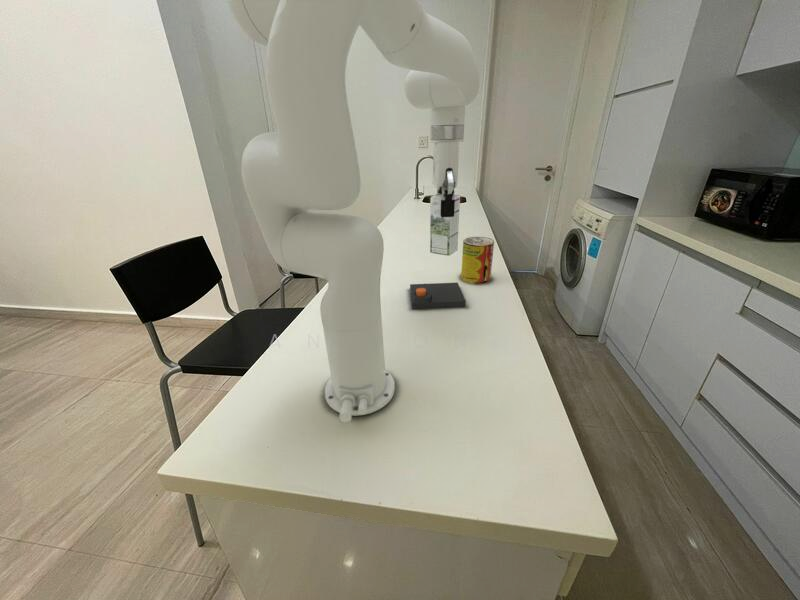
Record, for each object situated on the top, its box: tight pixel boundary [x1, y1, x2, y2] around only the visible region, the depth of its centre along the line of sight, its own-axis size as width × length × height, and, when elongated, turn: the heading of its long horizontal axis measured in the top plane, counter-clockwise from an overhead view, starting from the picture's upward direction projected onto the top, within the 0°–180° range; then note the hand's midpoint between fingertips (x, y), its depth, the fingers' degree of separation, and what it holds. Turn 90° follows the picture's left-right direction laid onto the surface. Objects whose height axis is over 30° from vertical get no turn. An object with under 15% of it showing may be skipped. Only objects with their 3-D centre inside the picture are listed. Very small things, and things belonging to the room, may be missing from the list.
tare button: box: [416, 288, 426, 297], centre depth 87 cm, size 3×3×2 cm
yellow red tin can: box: [460, 236, 495, 285], centre depth 101 cm, size 9×9×12 cm
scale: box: [409, 282, 466, 310], centre depth 91 cm, size 13×14×4 cm
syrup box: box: [429, 193, 461, 257], centre depth 84 cm, size 6×6×14 cm
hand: (444, 212), depth 83 cm, fingers closed on syrup box, 7 cm apart
